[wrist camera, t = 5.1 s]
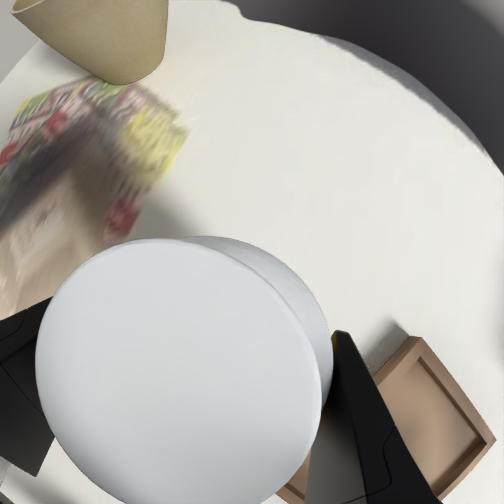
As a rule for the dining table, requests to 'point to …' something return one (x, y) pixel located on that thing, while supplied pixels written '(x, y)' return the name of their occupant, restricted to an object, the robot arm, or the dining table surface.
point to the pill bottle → (184, 370)
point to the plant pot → (101, 33)
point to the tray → (423, 420)
